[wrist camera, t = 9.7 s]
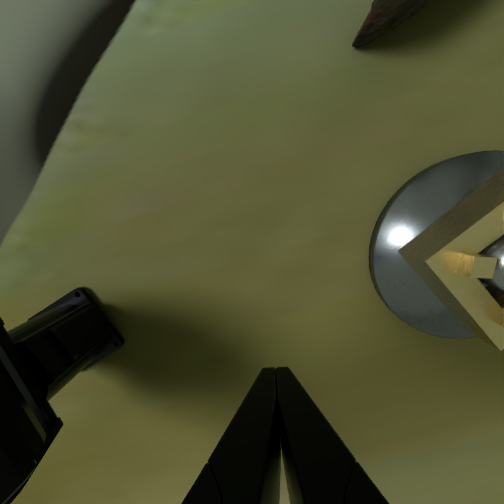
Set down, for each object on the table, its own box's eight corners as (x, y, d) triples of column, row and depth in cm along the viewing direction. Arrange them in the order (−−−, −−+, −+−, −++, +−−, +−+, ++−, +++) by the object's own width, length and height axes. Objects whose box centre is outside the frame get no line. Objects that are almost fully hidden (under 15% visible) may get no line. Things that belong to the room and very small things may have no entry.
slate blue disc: (367, 335, 20) (405, 385, 15) (369, 164, 17) (417, 147, 12) (545, 327, 19) (656, 376, 14) (578, 142, 16) (736, 113, 11)
